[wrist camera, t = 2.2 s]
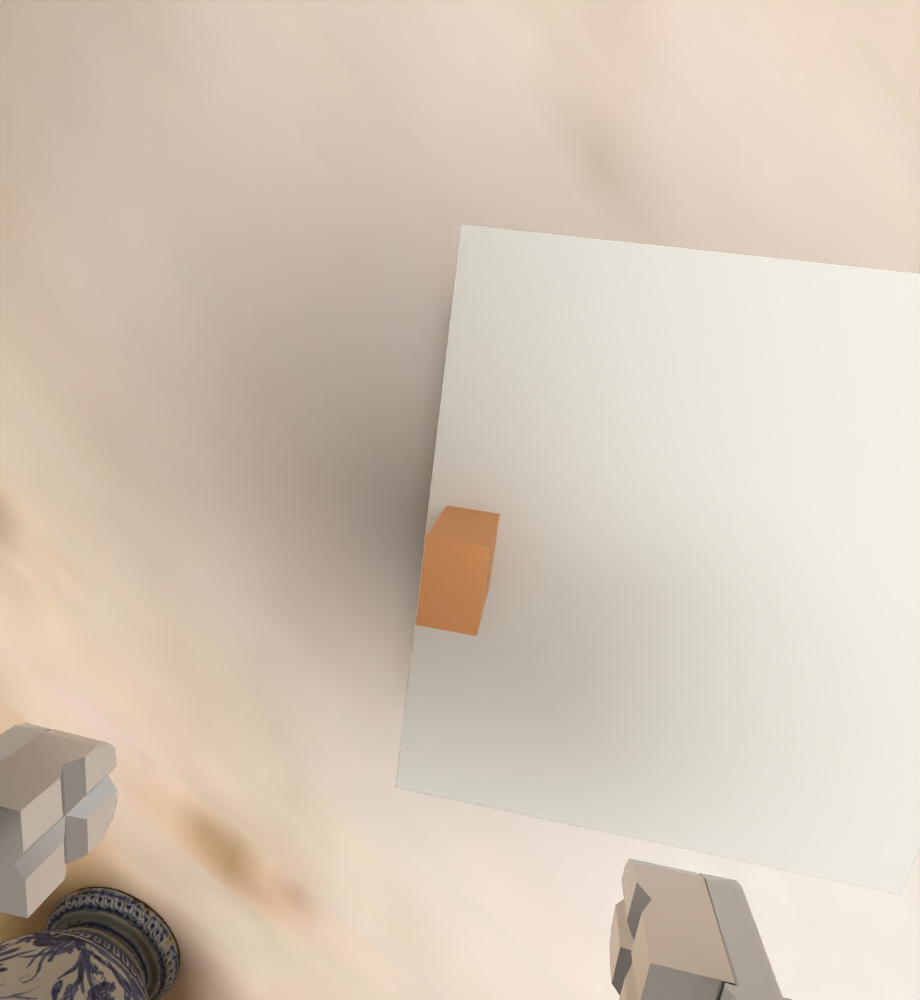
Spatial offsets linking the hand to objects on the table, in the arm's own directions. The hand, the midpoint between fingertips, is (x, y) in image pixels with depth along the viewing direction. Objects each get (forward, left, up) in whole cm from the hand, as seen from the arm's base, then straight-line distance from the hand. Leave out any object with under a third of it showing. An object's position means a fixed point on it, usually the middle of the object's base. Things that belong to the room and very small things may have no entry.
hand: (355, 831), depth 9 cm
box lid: (+8, 0, -15) cm, 17 cm away
